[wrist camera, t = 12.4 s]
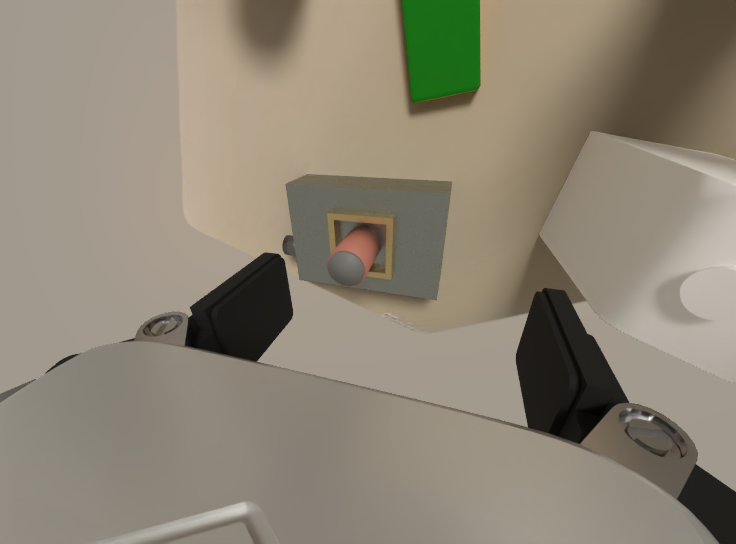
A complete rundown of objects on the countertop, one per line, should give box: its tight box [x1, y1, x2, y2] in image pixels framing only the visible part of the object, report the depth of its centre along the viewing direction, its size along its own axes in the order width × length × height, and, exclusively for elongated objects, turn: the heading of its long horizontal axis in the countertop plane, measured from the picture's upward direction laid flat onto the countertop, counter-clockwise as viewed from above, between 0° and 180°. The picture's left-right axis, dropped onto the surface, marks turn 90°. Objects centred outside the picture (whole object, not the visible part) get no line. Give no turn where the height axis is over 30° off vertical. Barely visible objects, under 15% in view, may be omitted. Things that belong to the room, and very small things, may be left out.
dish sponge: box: [402, 0, 480, 103], centre depth 30 cm, size 7×14×2 cm, turn 10°
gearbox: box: [283, 174, 452, 300], centre depth 41 cm, size 23×14×7 cm, turn 91°
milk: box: [539, 131, 736, 383], centre depth 22 cm, size 12×12×26 cm
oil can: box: [327, 227, 381, 286], centre depth 35 cm, size 5×5×7 cm
